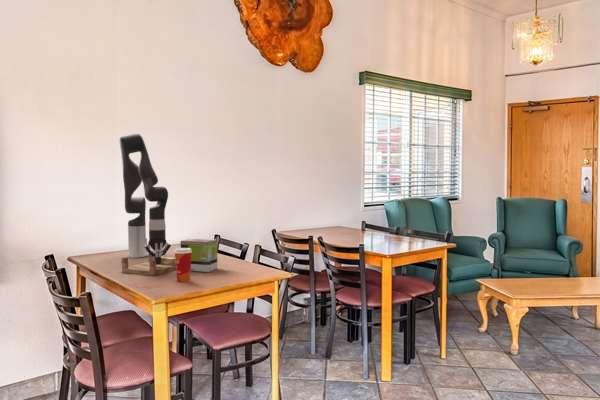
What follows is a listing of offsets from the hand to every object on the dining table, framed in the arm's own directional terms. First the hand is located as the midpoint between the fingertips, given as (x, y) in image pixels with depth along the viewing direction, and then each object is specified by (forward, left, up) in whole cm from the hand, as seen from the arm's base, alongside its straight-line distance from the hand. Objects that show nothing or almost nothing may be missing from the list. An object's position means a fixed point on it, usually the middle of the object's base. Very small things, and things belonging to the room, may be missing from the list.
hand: (157, 264), depth 231 cm
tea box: (-12, +16, -4) cm, 20 cm away
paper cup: (+10, +24, -3) cm, 26 cm away
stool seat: (-1, -4, -3) cm, 5 cm away
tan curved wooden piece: (-7, -2, -1) cm, 8 cm away
